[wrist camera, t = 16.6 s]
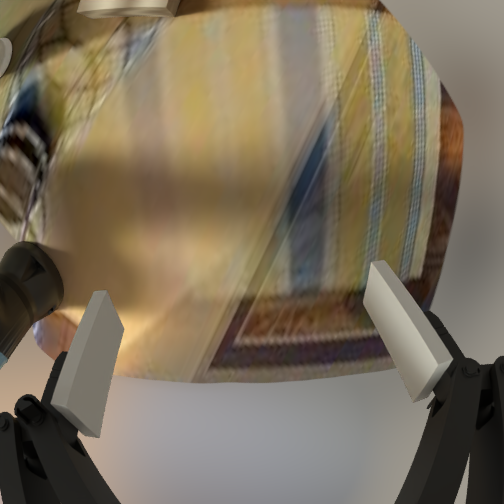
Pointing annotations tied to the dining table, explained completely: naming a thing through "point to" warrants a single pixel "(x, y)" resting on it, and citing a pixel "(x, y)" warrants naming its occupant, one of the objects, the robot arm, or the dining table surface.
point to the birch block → (127, 8)
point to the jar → (5, 54)
